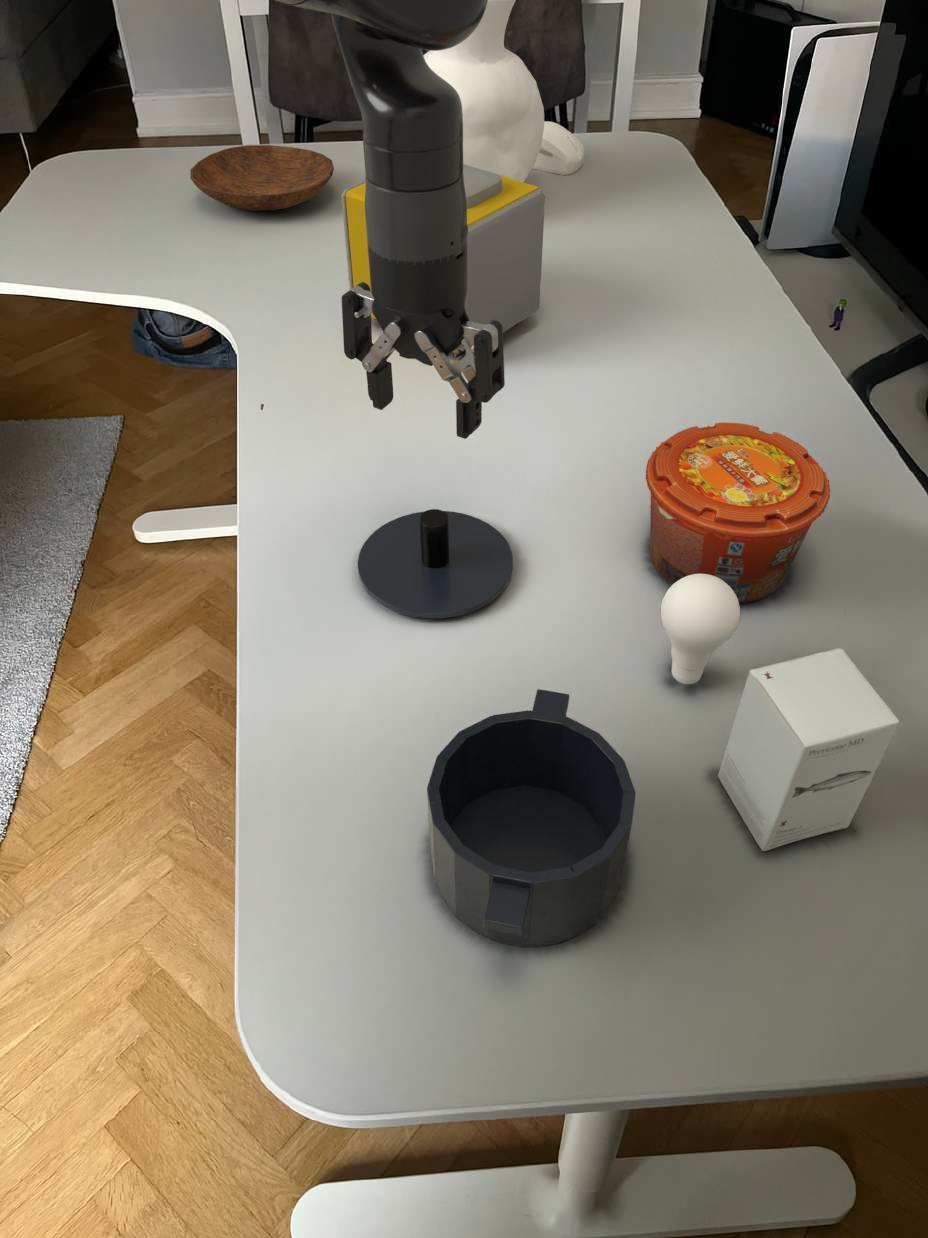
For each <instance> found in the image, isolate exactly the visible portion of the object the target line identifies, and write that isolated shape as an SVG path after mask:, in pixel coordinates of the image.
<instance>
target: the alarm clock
mask: <svg viewBox="0 0 928 1238" xmlns="http://www.w3.org/2000/svg"><path fill="white" fill-rule="evenodd" d="M463 176H464V186H465V193H466V201H467V226H468V235H467V294H466V300H465V310H466V313H467V315H468V318H469V320H470V321H471V322H476V323H480V324H485V325H487V324H489V323H490V322H491V321H493V320H496V321H498V322H500V323H501V325H502V327H503V333H505V332H506V331H508V330H510V329H511V328H512V327H514V326H516V325H517V324H519V323H521V322H522V321H524V320H525V319H527V318H528V317H530V316H531V315H533V314H534V313H537V312H538V310H539V308H540V303H541V285H542V266H543V250H544V249H543V246H544V229H545V227H544V226H545V207H546V206H545V205H546V195H545V194H544V192H543V191H542V190H541V188H540V186H537V185H534V184H531V183H527V182H525V181H524V182H521V181H517V180H514V179H511V178H508V177H504V176H501V175H498V174H495V173H491V172H488V171H485V170H481V169H478V168H475V167H472V166H468V165H465V164H463ZM365 191H366V179H365V180H363V181H360V182H358V183H356V184H353V185H351V186H349V187H347V188H344V189H343V192H342V194H341V208H342V218H343V229H344V230H343V231H344V240H345V241H344V242H345V251H346V261H347V271H348V284H349V290H351V289H352V288H354V287H355V286H356V285H358V284H359V283H361V282H365V283H367V284H368V285H369V287H370V290H371V283H370V270H369V257H368V244H367V231H366V218H365ZM371 319H373V320H375V321H377V320H376V318H375V316H374V314H373V313H372V314H371ZM464 339H465V341H466V343H467V344H468V346H469V348H471V345H470V342H469V340H468V339H467V338H464ZM452 353H453V355H454V357H456V354H455V352H454V351H453V352H452Z"/></svg>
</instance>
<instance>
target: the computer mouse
mask: <svg viewBox="0 0 928 1238" xmlns="http://www.w3.org/2000/svg"><path fill="white" fill-rule="evenodd" d="M584 157H585V147H584V145H583V144H582V142H581V141H580V140H579V139H578V138H577V137H576V136H575V135H574V134H573V133H572V132H571V131H569V130H568V129H567V128H565V127H564V126H562V125H560V124H558V123H557V122H554V121H546V120H544V131H543V136H542V144H541V148H540V151H539V153H538V155H537V158H536V161H535V164H534V166H533V168H532V170H538V171H542V172H546V173H551V174H555V175H556V174H557V175H562V176H568V175H571V174H574V173H575V172H578V170H579V169H580V168H581V167H582V165H583V161H584Z"/></svg>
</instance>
